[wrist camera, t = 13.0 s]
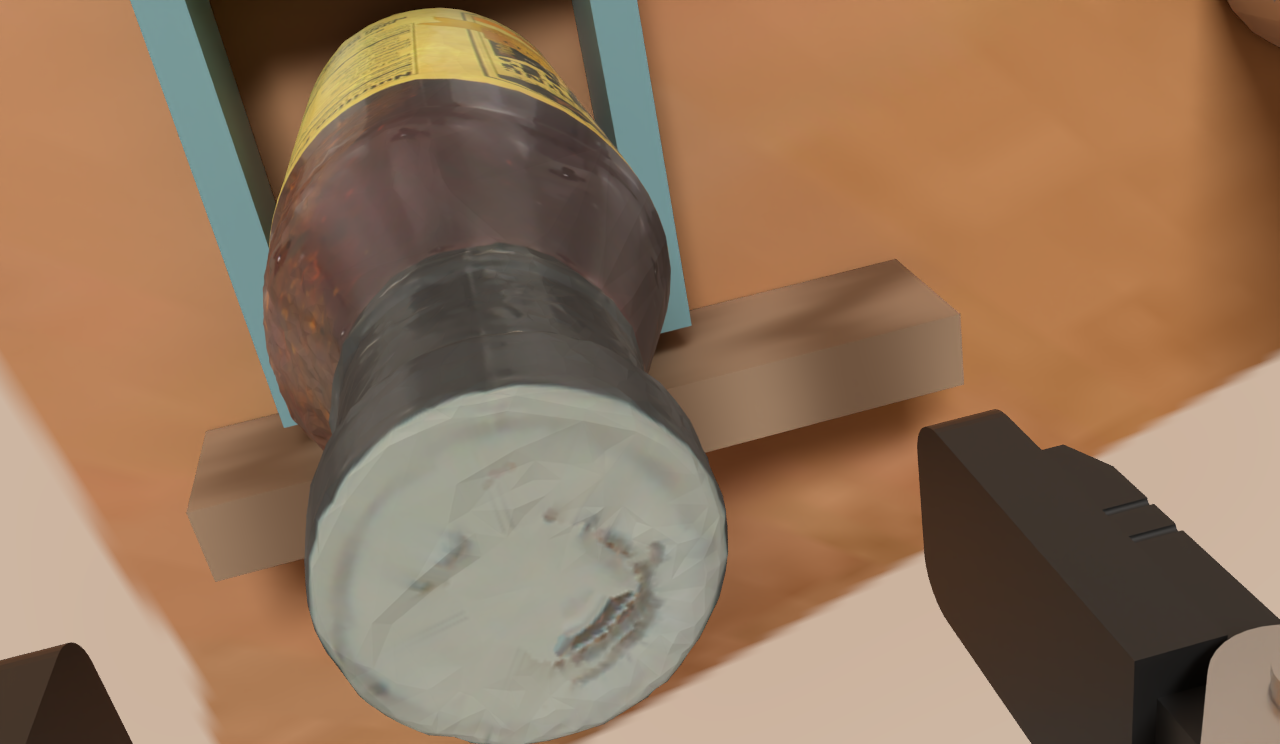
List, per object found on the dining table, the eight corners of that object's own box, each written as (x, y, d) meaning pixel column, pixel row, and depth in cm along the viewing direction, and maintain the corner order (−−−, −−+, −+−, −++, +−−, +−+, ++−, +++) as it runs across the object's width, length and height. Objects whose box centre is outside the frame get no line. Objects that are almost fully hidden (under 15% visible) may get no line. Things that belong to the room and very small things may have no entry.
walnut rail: (895, 259, 33) (960, 314, 29) (900, 323, 34) (964, 384, 30) (206, 431, 31) (186, 512, 27) (231, 495, 32) (215, 581, 28)
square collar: (585, -163, 27) (610, -159, 24) (664, 281, 32) (691, 325, 29) (135, -72, 26) (109, -58, 23) (290, 374, 31) (284, 428, 28)
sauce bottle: (596, 202, 30) (918, 744, 13) (364, 285, 30) (370, 960, 13) (512, -56, 27) (783, 198, 10) (252, 33, 27) (57, 460, 10)
